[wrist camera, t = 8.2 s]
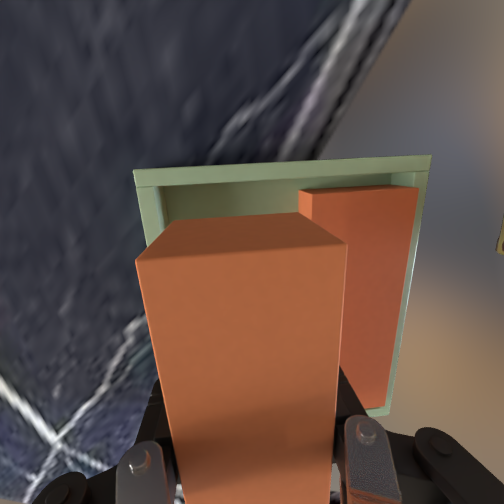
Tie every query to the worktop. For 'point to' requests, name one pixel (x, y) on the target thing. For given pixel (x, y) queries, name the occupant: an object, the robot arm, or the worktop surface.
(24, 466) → the worktop surface
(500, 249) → the candy box
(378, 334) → the pad
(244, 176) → the pad tray
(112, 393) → the worktop surface
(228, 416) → the orange block
